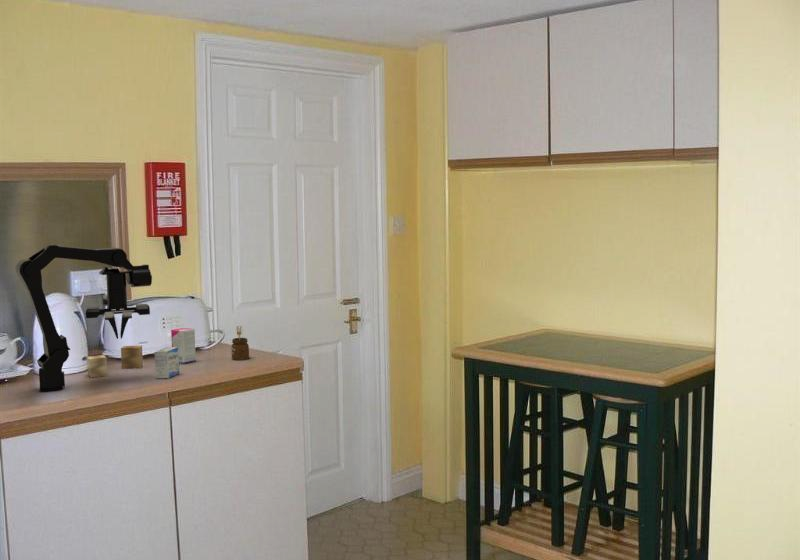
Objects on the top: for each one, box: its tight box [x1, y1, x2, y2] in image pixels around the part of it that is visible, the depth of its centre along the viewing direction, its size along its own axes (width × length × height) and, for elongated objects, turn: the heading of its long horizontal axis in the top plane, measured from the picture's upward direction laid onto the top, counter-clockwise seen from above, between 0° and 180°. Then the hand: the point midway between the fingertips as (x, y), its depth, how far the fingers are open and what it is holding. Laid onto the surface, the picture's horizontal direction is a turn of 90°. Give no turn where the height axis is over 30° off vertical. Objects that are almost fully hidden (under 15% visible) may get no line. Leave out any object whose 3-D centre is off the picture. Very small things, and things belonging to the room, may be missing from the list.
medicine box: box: [154, 346, 180, 379], centre depth 274 cm, size 8×4×9 cm, turn 168°
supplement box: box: [170, 327, 197, 365], centre depth 296 cm, size 6×6×12 cm
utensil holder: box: [231, 325, 250, 361], centre depth 300 cm, size 6×6×12 cm
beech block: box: [86, 354, 108, 379], centre depth 277 cm, size 5×5×6 cm
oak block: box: [120, 345, 144, 370], centre depth 289 cm, size 6×4×7 cm, turn 94°
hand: (119, 338), depth 269 cm, fingers closed
